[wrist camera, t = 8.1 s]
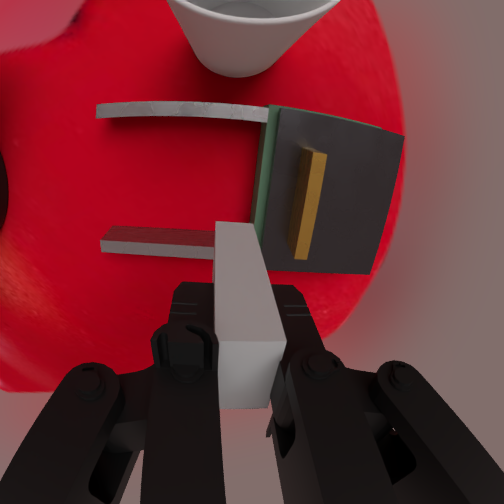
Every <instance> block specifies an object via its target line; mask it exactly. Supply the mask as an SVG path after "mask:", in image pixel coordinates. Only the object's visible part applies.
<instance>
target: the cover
mask: <svg viewBox="0 0 504 504" xmlns="http://www.w3.org/2000/svg"><path fill="white" fill-rule="evenodd" d="M404 137H405V136H402V135H399V134H396V133H393V132H389V131H386V130H383V129H379V128H375V127H372V126H368V125H364V124H360V123H356V122H352V121H348V120H344V119H339V118H335V117H330V116H325V115H321V114H315V113H310V112H305V111H299V110H293V109H286V108H279V113H278V121H277V129H276V136H275V144H274V152H273V159H272V167H271V174H270V182H269V189H268V197H267V204H266V211H265V219H264V226H263V233H262V240H261V248H260V249H261V253H262V256H263V260H264V263H265V267H266V270H275V271H295V272H316V273H339V274H365V275H370V272H371V269H372V266H373V263H374V260H375V256H376V253H377V250H378V247H379V243H380V240H381V236H382V233H383V229H384V226H385V222H386V219H387V215H388V211H389V207H390V203H391V199H392V195H393V191H394V186H395V182H396V178H397V173H398V168H399V163H400V158H401V153H402V148H403V142H404Z"/></svg>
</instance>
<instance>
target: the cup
mask: <svg viewBox="0 0 504 504" xmlns="http://www.w3.org/2000/svg"><path fill="white" fill-rule="evenodd" d="M339 1H340V0H167V2H168V4H169V6H170V7H171V9H172V11H173V13H174V15H175V17H176V19H177V20H178V22H179V24H180V26H181V28H182V30H183V32H184V34H185V35H186V37H187V39H188V41H189V43H190V45H191V47H192V49H193V51H194V53H195V55H196V56H197V58H198V59H199V61H200V62H201V63H202V64H203V65H204V66H205V67H206V68H208V69H209V70H211V71H213V72H215V73H217V74H220V75H223V76H227V77H234V78H241V77H249V76H253V75H256V74H259V73H261V72H263V71H265V70H266V69H268V68H269V67H270V66H272V65H273V64H274V63H275V62H276V61H277V60H278V59H279V58H280V57H281V56H282V55H283V54H284V53H285V52H286V51H287V50H288V49H289V48H290V47H291V46H292V45H293V44H294V43H295V42H296V41H297V40H298V39H299V38H300V37H301V36H302V35H303V34H304V33H305V32H306V31H307V30H308V29H309V28H310V27H311V26H313V25H314V24H315V23H316V22H317V21H318V20H319V19H320V18H321V17H322V16H324V15H325V14H326V13H327V12H328V11H329V10H330V9H332V8H333V7H334V6H335V5H336V4H337V3H338V2H339Z"/></svg>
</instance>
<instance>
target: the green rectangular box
mask: <svg viewBox="0 0 504 504" xmlns="http://www.w3.org/2000/svg"><path fill="white" fill-rule="evenodd" d="M264 107H265V108H269V112H268V120H267V123H266V122H262V123H261V131H260V140H259V148H258V156H257V164H256V173H255V181H254V189H253V198H252V206H251V215H250V223H251V224H253V225H254V229H255V232H256V235H257V239H258V242H259V246H260V248H261V240H262V233H263V226H264V219H265V211H266V204H267V197H268V189H269V182H270V174H271V167H272V159H273V152H274V144H275V136H276V129H277V121H278V113H279V108H286V109H293V110H299V111H305V112H310V113H315V114H321V115H325V116H330V117H335V118H339V119H344V120H348V121H352V122H356V123H360V124H364V125H368V126H372V127H375V128H379V129H382V128H381V127H377V126H374V125H370V124H366V123H362V122H358V121H354V120H350V119H346V118H342V117H337V116H333V115H328V114H323V113H318V112H313V111H308V110H302V109H296V108H290V107H284V106H277V105H270V104H269V105H265V106H264Z"/></svg>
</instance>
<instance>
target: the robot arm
mask: <svg viewBox="0 0 504 504" xmlns="http://www.w3.org/2000/svg"><path fill="white" fill-rule="evenodd" d="M7 203H8V185H7V176H6V170H5V166H4V162H3V159H2V156H1V153H0V228H1V226H2V224H3V222H4V219H5V215H6V211H7ZM150 341H151V347H152V353H153V359H154V364H153V365H152V366H150V367H148V368H146V369H144V370H141V371H137V372H132V373H126V374H119V375H116V374H115V372H114V371H113V369H111V368H109V367H107V366H106V365H104V364H100V363H95V362H91V363H83V364H81V365H78V366H76V367H74V368H73V369H72V370H71V371H69V372H68V373H67V374H66V376H65V377H64V378H63V380H62V381H61V383H60V384H59V386H58V387H57V389H56V390H55V391H54V393H53V394H52V396H51V398H50V399H49V400H48V402H47V403H46V405H45V407H44V408H43V409H42V411H41V413H40V414H39V416H38V417H37V419H36V420H35V422H34V424H33V425H32V427H31V428H30V430H29V432H28V433H27V435H26V436H25V438H24V440H23V441H22V443H21V445H20V447H19V448H18V450H17V452H16V453H15V455H14V457H13V459H12V461H11V463H10V464H9V466H8V468H7V470H6V471H5V473H4V475H3V477H2V479H1V481H0V504H119V503H120V501H121V498H122V495H123V493H124V490H125V488H126V486H127V483H128V480H129V478H130V475H131V473H132V470H133V468H134V465H135V463H136V460H137V458H138V455H139V453H140V451H141V450H144V456H143V467H142V481H141V498H140V504H226V497H225V486H224V473H223V461H222V445H221V428H220V411H219V409H258V408H267V407H268V405H269V401H270V399H271V404H272V410H273V414H272V417H271V420H270V422H269V425H268V428H267V431H266V437H270V435H271V433H272V438H273V444H274V450H275V455H276V461H277V466H278V472H279V478H280V483H281V489H282V494H283V500H284V504H504V472H503V471H502V470H501V469H500V468H499V466H498V465H497V463H496V462H495V461H494V460H493V458H492V457H491V456H490V455H489V453H488V452H487V451H486V450H485V448H484V447H483V446H482V445H481V443H480V442H479V441H478V440H477V439H476V437H475V436H474V435H473V434H472V433H471V431H470V430H469V429H468V428H467V427H466V425H465V424H464V423H463V422H462V421H461V420H460V418H459V417H458V416H457V415H456V414H455V412H454V411H453V410H452V409H451V408H450V407H449V406H448V404H447V403H446V402H445V401H444V400H443V399H442V398H441V396H440V395H439V394H438V393H437V392H436V391H435V390H434V389H433V387H432V386H431V385H430V384H429V383H428V382H427V381H426V379H425V378H424V377H423V376H422V375H421V374H420V373H419V372H418V371H417V370H416V369H415V368H414V367H412V366H411V365H409V364H407V363H405V362H402V361H395V360H393V361H389V362H385V363H384V364H383V365H381V366H380V368H379V369H378V371H377V373H373V372H366V371H359V370H354V369H350V368H346V367H345V366H344V364H343V363H342V361H340V358H338V357H337V356H336V355H334V354H333V353H332V352H329V351H327V350H325V347H324V345H323V342H322V340H321V337H320V335H319V333H318V330H317V328H316V325H315V323H314V320H313V318H312V316H311V313H310V311H309V308H308V307H307V304H306V301H305V299H304V297H303V294H302V293H301V292H300V291H299V290H297V289H296V288H295V287H294V286H293V285H277V284H270V280H269V277H268V274H267V270H266V267H265V263H264V260H263V256H262V253H261V249H260V246H259V242H258V239H257V235H256V232H255V229H254V225H253V224H251V223H236V222H219V221H216V226H215V242H214V258H213V276H212V283H199V282H182V283H181V284H180V285H179V286H178V287H177V288H176V289H175V290H174V294H173V299H172V304H171V309H170V314H169V319H168V323H167V324H164V325H162V326H161V327H160V328H159V329H157V330H156V331H155V332H154V334H153V336H152V338H151V340H150ZM392 428H394V429H395V431H394V430H393V429H392Z"/></svg>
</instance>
